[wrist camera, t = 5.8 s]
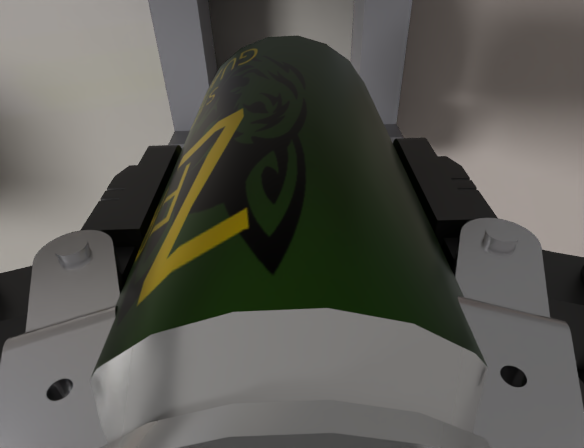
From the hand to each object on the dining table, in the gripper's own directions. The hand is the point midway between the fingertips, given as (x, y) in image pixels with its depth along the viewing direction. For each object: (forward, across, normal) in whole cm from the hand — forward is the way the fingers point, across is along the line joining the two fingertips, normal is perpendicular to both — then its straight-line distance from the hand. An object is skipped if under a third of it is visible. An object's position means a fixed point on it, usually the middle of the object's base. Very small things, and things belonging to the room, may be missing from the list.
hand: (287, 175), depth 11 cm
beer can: (+4, 0, 0) cm, 4 cm away
